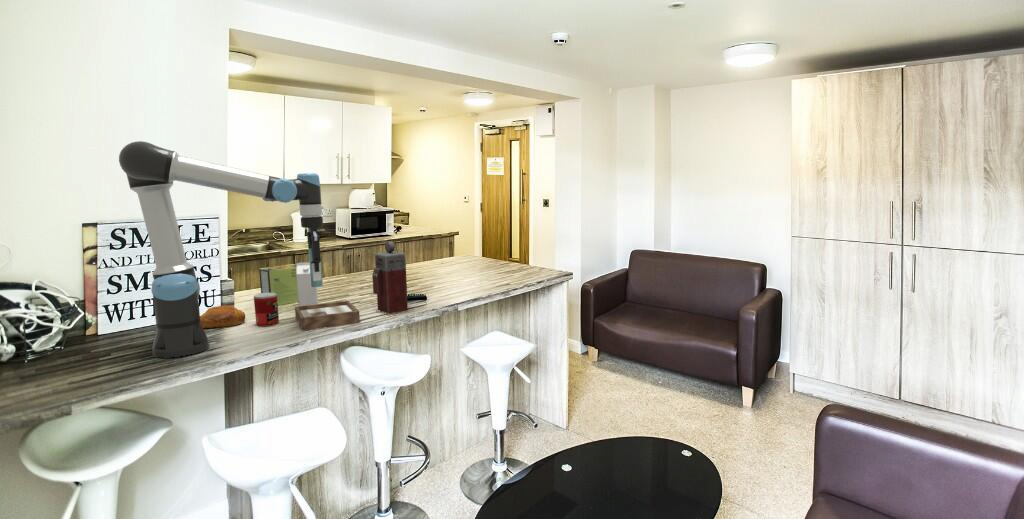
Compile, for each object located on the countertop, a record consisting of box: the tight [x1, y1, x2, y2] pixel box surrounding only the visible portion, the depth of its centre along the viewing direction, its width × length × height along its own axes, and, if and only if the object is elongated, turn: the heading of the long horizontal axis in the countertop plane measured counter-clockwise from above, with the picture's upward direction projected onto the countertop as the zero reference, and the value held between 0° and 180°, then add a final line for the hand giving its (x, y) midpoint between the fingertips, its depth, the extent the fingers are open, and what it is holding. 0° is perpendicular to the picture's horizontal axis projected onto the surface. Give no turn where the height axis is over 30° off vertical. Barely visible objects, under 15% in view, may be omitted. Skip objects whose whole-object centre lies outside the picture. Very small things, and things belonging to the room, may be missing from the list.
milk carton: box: [296, 261, 319, 306], centre depth 219 cm, size 7×7×19 cm
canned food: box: [253, 292, 280, 327], centre depth 195 cm, size 8×8×11 cm
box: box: [294, 300, 361, 331], centre depth 199 cm, size 20×20×4 cm
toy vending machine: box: [372, 241, 409, 314], centre depth 211 cm, size 9×11×28 cm
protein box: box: [258, 263, 299, 306], centre depth 230 cm, size 10×15×16 cm
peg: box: [307, 248, 324, 288], centre depth 195 cm, size 4×4×14 cm
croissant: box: [200, 304, 246, 329], centre depth 196 cm, size 14×16×8 cm
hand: (316, 279), depth 195 cm, fingers closed on peg, 4 cm apart
